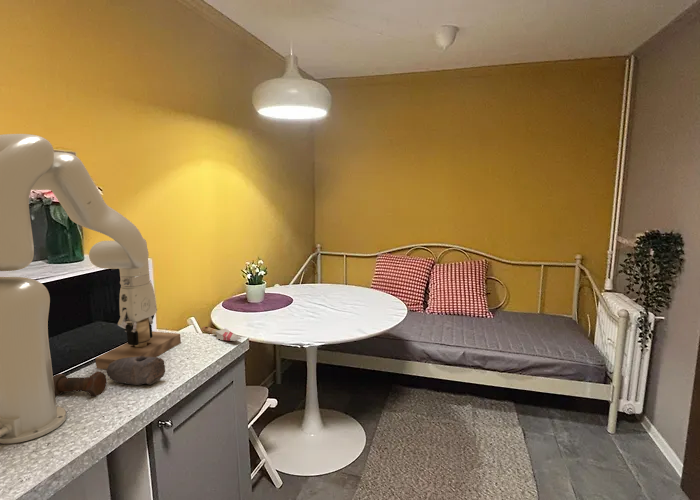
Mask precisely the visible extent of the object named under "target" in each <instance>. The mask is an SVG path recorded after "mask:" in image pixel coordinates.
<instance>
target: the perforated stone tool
mask: <svg viewBox="0 0 700 500" xmlns="http://www.w3.org/2000/svg"><path fill="white" fill-rule="evenodd" d="M165 373H166V365H165V360H164V359H163V358H161V357H159V356H157V357H145V356H139V357H128V358H122V359H118V360H115V361H113V362H111V363H110V364H109V365H108V368H107V370H106V375H107V377H108V379H109V378H110V379H111V381H113V382H116V383H118V384H123V383H124V384H126V385H134V386H141V385H143V384H144V385H145V384H147V385H148V386H149V385H153V384H154V383H156V382H159V381H160V380H161V379H162V378H163V377H164V376H165Z"/></svg>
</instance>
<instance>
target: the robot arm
mask: <svg viewBox="0 0 700 500" xmlns="http://www.w3.org/2000/svg"><path fill="white" fill-rule="evenodd" d="M33 190H35V191H41V190H42V191H45V190H46V191H47V190H48V191H51V192H52V193H53V195H54V196H55V198H56V200H57V201H58V202H59V204H60V206H61V207H62V208H63V211H64V212H65V213H66V214H67V216H68V217H69V220H70V221H72V222H73V223H75V224H76V225H78V226H81V227H83V228H86V229H89V230H92V231H94V232H96V233H97V232H98V233H100V234H103V235H105V236H107V237H109V238H111V239H112V240H102V241H99V242H96V243H95V244H93V246H91V248H90V249H89V252H88V258H89V261H90V262H91V264H92V265H93V266H94V267H97V268H100V269H104V270H109V269H111V270H117V269H118V270H119V277H120V281H119V284H120V290H119V303H118V304H119V316H120V317H119V320H118V322H117V327H120V328H122V329H123V330H124V332H125V333H126V339H127V340H126V341H127V342H128V344H129V345H138V344H139V341H138V331H136V325H137V322H139V321H142V320H144V319H146V318H148V319H149V331H150V338H152V331H153V323H154V321H153V320H154V317H155V316H156V314H157V311H158V308H157V300H156V295H155V290H154V286H153V284H152V282H151V279H150V266H149V265H150V264H149V256H150V255H149V254H150V253H149V249H148V243H147V240H146V239H145V238H144V237H143V235H142V233H141V231H140V230H139V229H138V226H136V225H135V224H134V223H133V222H132V221H130V220H129V219H128V218H126V217H125V216H124V215H123V214H121V213H120V212H118V211H117V210H115V209H114V208H112V207H110V206H109V205H108V204H107V203H106V202H105V200H104V197H103V196H102V194H101V192H100V191H99V189H98V187H97V185H96V184H95V182H94V180H93V178H92V176H91V175H90V173H89V171H88V169H87V167H86V166H85V165H84V163H83V161H82V160H81V159H80V158H79V157H78V156H76V155H75V154H73V153H69V152H61V151H54V147H53V144H52V143H51V142H50V141H49V140H48V139H46V138H45V137H43V136H41V135H36V134H30V133H29V134H28V133H7V134H4V133H3V134H0V272H13V271H19V270H23V269H25V268H26V267H29V266H30V264H31V263H32V262H33V259H34V255H35V252H34V251H35V248H34V247H35V246H34V245H35V244H34V238H33V229H32V224H31V223H32V221H31V215H30V214H31V213H30V204H29V203H30V202H29V201H30V195H31V191H33ZM50 303H51V297H50V293H49V290H48V288H47V287H46V286H45V285H44V284H43V283H41V282H40V281H39V280H36V279H33V278H29V277H22V276H0V444H4V445H5V444H19V443H22V442H28V441H31V440H34V439H37V438H40V437H43V436H45V435H47V434H49V433H51V432H53V431H54V430H56V429H58V428H59V427H60V426H61V425H63V423H64V422H65V421H66V420H67V411H66V409H65V408H63V407H61V406H57V401H56V395H55V389H54V381H53V376H54V375H53V374H54V373H53V367H52V366H53V365H52V358H51V357H52V356H51V350H50V342H49V341H50V340H49V329H48V328H49V326H48V324H49V323H48V321H49V315H50V314H49V313H50ZM130 323H132V327H131V326H130Z"/></svg>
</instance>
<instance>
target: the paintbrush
mask: <svg viewBox="0 0 700 500" xmlns="http://www.w3.org/2000/svg"><path fill="white" fill-rule="evenodd" d="M201 330H202V332H205V333H207V334H211V335H214V336H216V338H215V339H216V340H217V339H220V340H219V341H232V342H235V341H238V340H242V337H240V336H238V335H237V334H235V333H234V332H232V331H231V330H229V329H227V328H222V329H215V328H212V327H210V326H206V325H204V326H202V327H201Z"/></svg>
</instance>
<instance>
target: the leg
mask: <svg viewBox="0 0 700 500" xmlns="http://www.w3.org/2000/svg"><path fill="white" fill-rule="evenodd" d="M130 326H131V327H132V323H130ZM136 331H138V341H139V344H138V345H135V348H143V347H145V346H147V341H149V340H150V331H149V319H148V318H146V319H144V320H142V321H139V322H137V325H136Z"/></svg>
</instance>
